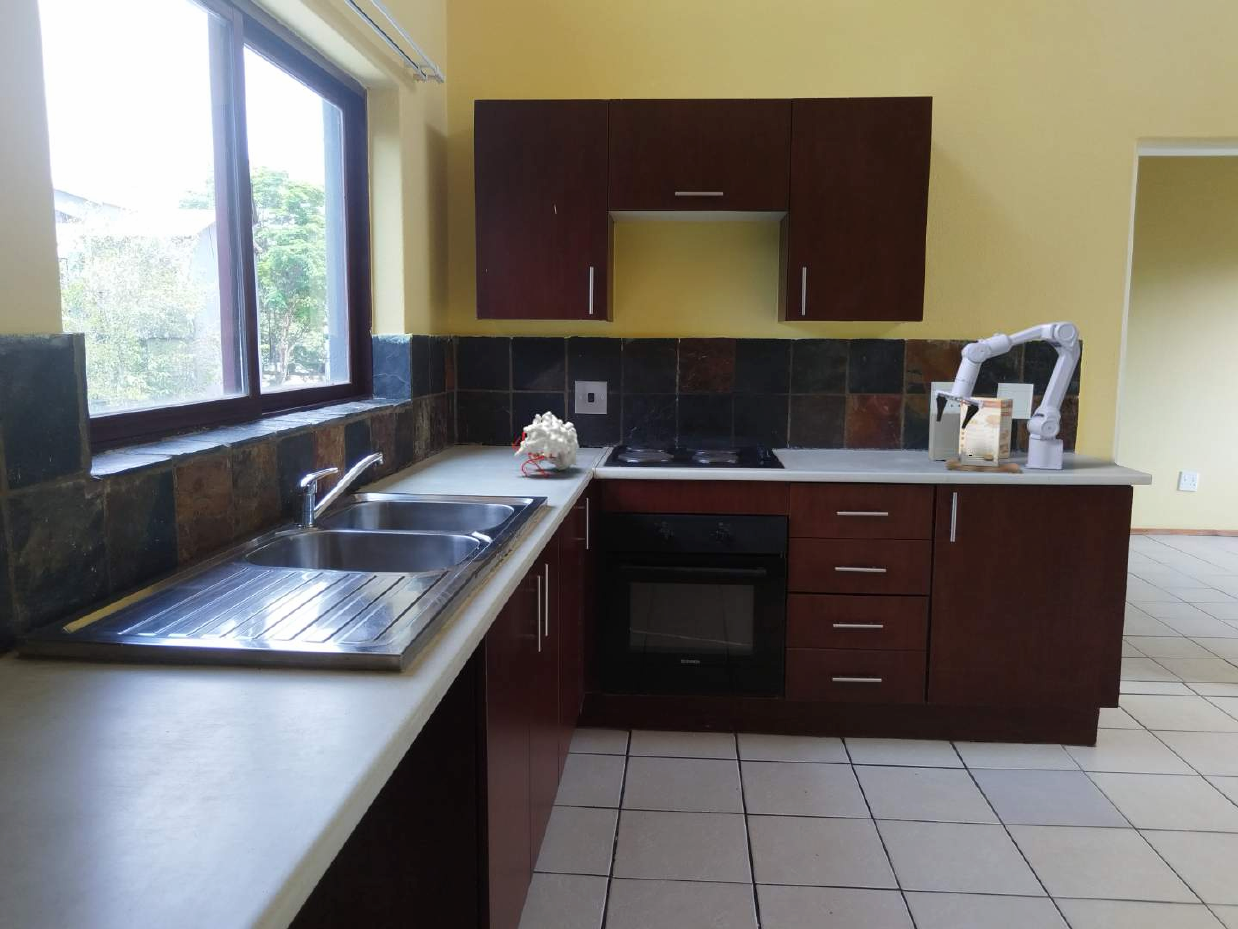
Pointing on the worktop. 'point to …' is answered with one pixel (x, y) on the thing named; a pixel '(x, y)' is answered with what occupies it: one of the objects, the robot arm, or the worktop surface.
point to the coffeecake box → (987, 428)
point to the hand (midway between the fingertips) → (950, 424)
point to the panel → (976, 460)
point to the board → (1001, 466)
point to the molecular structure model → (549, 443)
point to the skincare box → (944, 436)
